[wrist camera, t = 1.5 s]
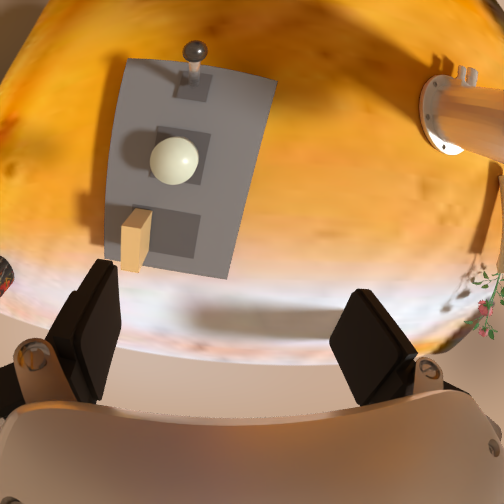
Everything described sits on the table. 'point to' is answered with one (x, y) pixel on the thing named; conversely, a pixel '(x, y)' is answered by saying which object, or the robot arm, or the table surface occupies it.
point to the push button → (174, 160)
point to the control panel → (208, 169)
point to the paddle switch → (135, 239)
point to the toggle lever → (194, 59)
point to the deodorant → (5, 275)
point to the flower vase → (484, 308)
